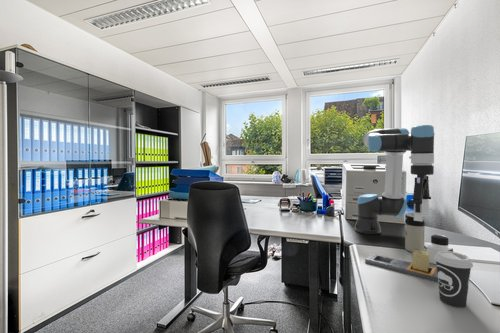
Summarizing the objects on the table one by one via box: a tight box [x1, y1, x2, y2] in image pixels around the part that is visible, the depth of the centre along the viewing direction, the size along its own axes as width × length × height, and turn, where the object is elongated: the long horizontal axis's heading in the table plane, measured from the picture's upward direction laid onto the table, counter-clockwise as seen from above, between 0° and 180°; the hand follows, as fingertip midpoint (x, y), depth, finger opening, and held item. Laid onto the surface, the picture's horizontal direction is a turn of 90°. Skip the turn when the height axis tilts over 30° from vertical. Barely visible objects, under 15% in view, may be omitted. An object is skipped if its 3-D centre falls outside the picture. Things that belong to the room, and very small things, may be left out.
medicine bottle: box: [426, 234, 454, 265], centre depth 108 cm, size 7×7×12 cm
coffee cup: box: [434, 251, 474, 308], centre depth 79 cm, size 10×10×15 cm
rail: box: [364, 252, 438, 283], centre depth 103 cm, size 9×26×2 cm, turn 46°
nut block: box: [412, 249, 431, 274], centre depth 99 cm, size 5×5×8 cm
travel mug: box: [404, 212, 425, 253], centre depth 123 cm, size 8×8×18 cm
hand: (421, 217), depth 98 cm, fingers open, 13 cm apart
